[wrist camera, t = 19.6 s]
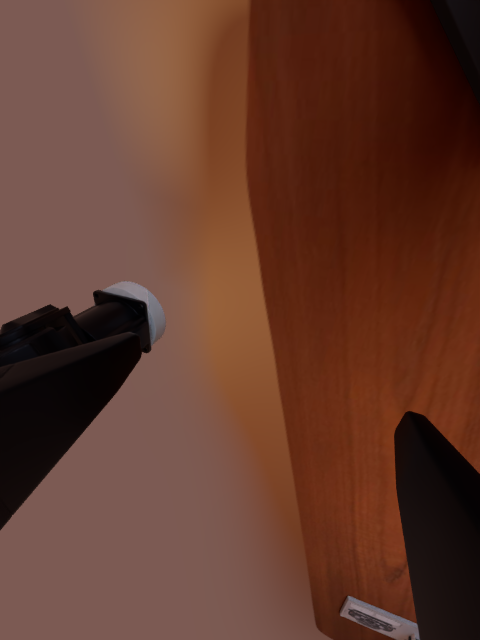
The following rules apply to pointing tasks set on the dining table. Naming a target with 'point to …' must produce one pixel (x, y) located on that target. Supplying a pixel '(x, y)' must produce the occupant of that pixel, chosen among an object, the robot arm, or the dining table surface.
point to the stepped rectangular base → (463, 35)
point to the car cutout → (379, 620)
